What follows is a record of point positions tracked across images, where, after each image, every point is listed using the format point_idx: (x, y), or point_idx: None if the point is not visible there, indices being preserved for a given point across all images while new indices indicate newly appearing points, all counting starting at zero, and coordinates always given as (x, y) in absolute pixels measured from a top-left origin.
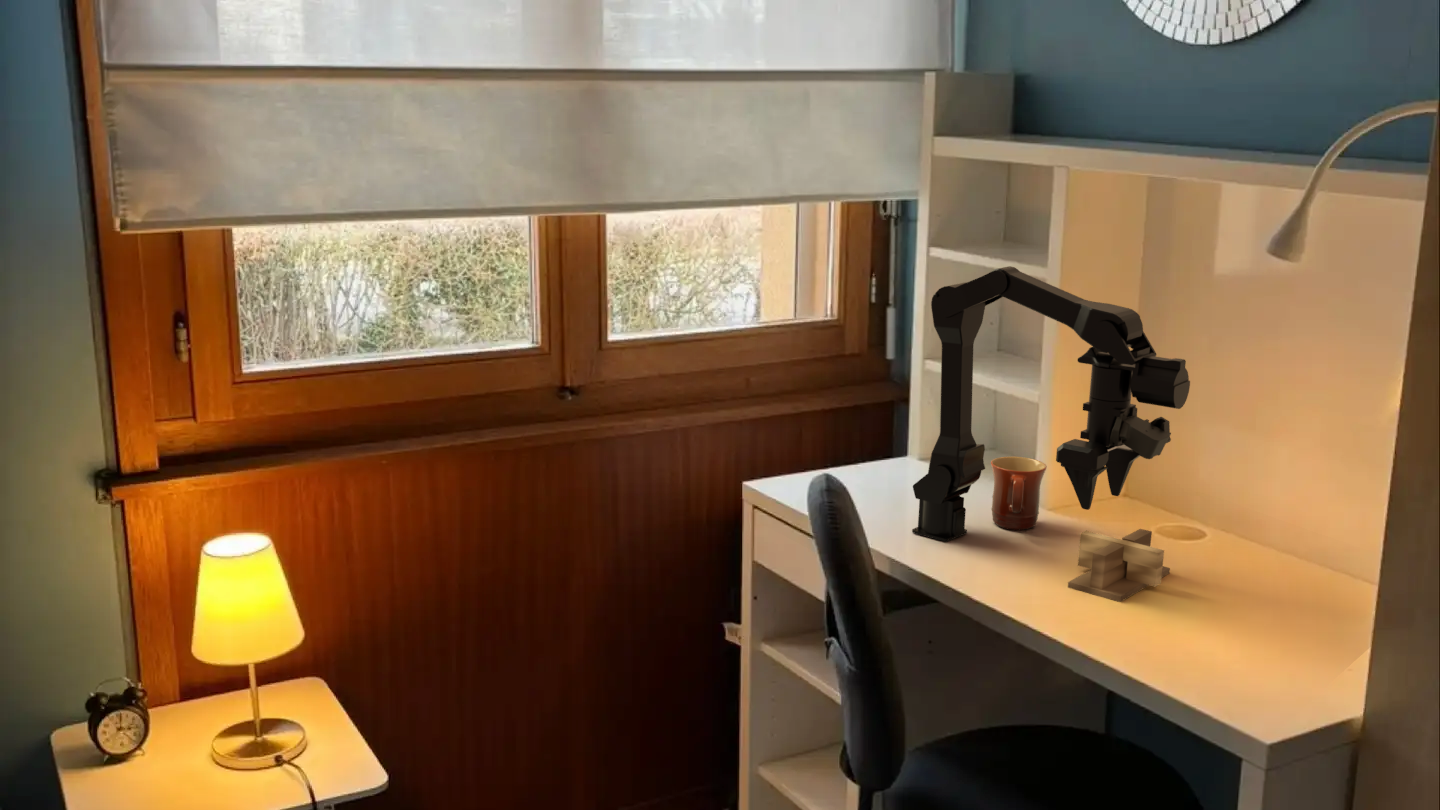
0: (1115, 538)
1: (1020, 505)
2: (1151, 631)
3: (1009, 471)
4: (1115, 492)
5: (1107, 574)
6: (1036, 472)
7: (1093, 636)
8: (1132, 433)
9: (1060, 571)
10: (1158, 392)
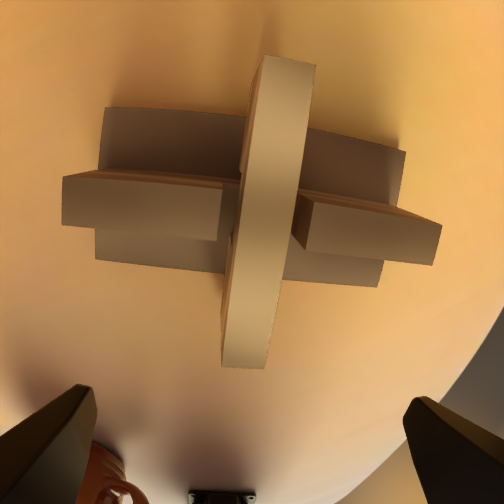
0: (242, 260)
1: (140, 498)
2: (484, 74)
3: None
4: (90, 410)
5: (383, 206)
6: None
7: None
8: None
9: (278, 334)
10: None
